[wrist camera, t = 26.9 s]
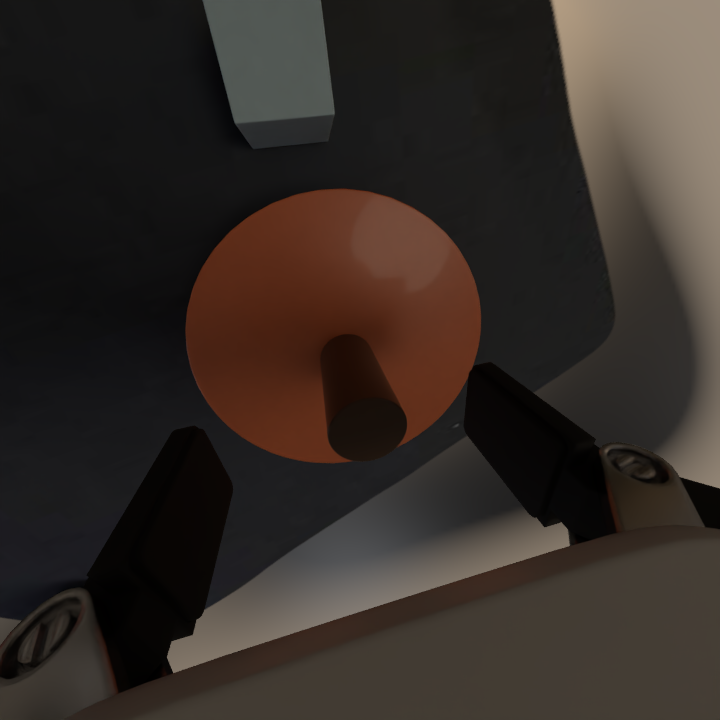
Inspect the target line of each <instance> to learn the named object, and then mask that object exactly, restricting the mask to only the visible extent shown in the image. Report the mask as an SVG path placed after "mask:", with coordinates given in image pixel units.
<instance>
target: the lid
mask: <svg viewBox="0 0 720 720" xmlns="http://www.w3.org/2000/svg"><path fill="white" fill-rule="evenodd" d="M480 329H481V312H480V302H479V296H478V292H477V288H476V284H475V281H474V278H473V276H472V273H471V271H470V268H469V266H468V264H467V262H466V261H465V259H464V257H463V255H462V254H461V252H460V250H459V249H458V247H457V246H456V245H455V244H454V242H453V241H452V240H451V239H450V237H449V236H448V235H447V234H446V233H445V232H444V231H443V230H442V229H441V228H440V227H439V226H438V225H437V224H435V223H434V222H433V221H432V220H431V219H430V218H428V217H427V216H425V215H424V214H422V213H421V212H419V211H417V210H416V209H414V208H413V207H411V206H409V205H407V204H404V203H402V202H400V201H398V200H396V199H393V198H391V197H387V196H384V195H380V194H376V193H373V192H369V191H361V190H352V189H324V190H316V191H311V192H306V193H301V194H296V195H293V196H290V197H287V198H285V199H282V200H279V201H277V202H274V203H271V204H270V205H268V206H266V207H264V208H262V209H261V210H259V211H257V212H255V213H253V214H252V215H250V216H249V217H247V218H246V219H245V220H244V221H242V222H241V223H240V224H239V225H237V226H236V227H235V228H233V229H232V230H231V231H230V232H229V233H228V234H227V235H226V236H225V237H224V239H223V240H222V241H221V242H220V243H219V244H218V245H217V246H216V247H215V248H214V250H213V251H212V253H211V254H210V256H209V258H208V259H207V261H206V262H205V264H204V265H203V267H202V268H201V271H200V273H199V275H198V277H197V280H196V282H195V284H194V287H193V289H192V293H191V297H190V301H189V305H188V308H187V318H186V329H185V330H186V345H187V353H188V357H189V362H190V366H191V370H192V372H193V375H194V377H195V380H196V382H197V385H198V387H199V389H200V390H201V392H202V394H203V396H204V397H205V399H206V401H207V402H208V404H209V405H210V406H211V408H212V409H213V410H214V411H215V413H216V414H217V415H218V416H219V417H220V418H221V419H222V420H223V421H224V422H225V423H226V424H227V425H228V426H229V427H230V428H231V429H232V430H234V431H235V432H236V433H237V434H239V435H240V436H241V437H243V438H244V439H246V440H248V441H249V442H251V443H253V444H254V445H256V446H258V447H260V448H262V449H264V450H267V451H269V452H271V453H274V454H277V455H280V456H283V457H286V458H290V459H295V460H300V461H306V462H315V463H339V462H349V461H361V462H363V461H371V460H375V459H378V458H381V457H383V456H385V455H387V454H389V453H390V452H392V451H393V450H394V449H395V448H396V447H398V446H400V445H402V444H404V443H406V442H408V441H409V440H411V439H412V438H414V437H416V436H417V435H419V434H420V433H421V432H423V431H424V430H425V429H427V428H428V427H429V426H430V425H432V424H433V423H434V422H435V421H436V420H437V419H438V418H439V417H440V416H441V415H442V414H443V413H444V412H445V411H446V410H447V408H448V407H449V406H450V405H451V404H452V402H453V401H454V399H455V398H456V397H457V395H458V394H459V392H460V391H461V389H462V387H463V385H464V384H465V382H466V380H467V378H468V376H469V372H470V371H471V369H472V366H473V364H474V360H475V357H476V354H477V350H478V345H479V339H480Z"/></svg>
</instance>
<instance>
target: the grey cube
mask: <svg viewBox="0 0 720 720" xmlns="http://www.w3.org/2000/svg"><path fill="white" fill-rule="evenodd" d="M203 4H204V8H205V12H206V15H207V19H208V23H209V27H210V31H211V35H212V39H213V42H214V46H215V50H216V54H217V58H218V62H219V65H220V69H221V73H222V77H223V81H224V85H225V89H226V92H227V96H228V100H229V104H230V108H231V112H232V115H233V119H234V123H235V124H236V126H237V127H238V128H239V130H240V131H241V133H242V134H243V136H244V137H245V138H246V140H247V141H248V143H249V144H250V145H251V147H252V148H253V149H259V148H269V147H278V146H288V145H298V144H307V143H317V142H327V141H328V139H329V135H330V131H331V127H332V123H333V118H334V114H335V111H334V103H333V95H332V87H331V79H330V71H329V63H328V54H327V46H326V38H325V30H324V22H323V14H322V6H321V0H203Z"/></svg>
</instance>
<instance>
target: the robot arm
mask: <svg viewBox="0 0 720 720" xmlns="http://www.w3.org/2000/svg"><path fill="white" fill-rule="evenodd" d="M464 429H465V432H466V434H467V436H468V437H469V438H470V439H471V441H472V442H473V443H474V444H475V446H476V447H477V448H478V450H479V451H480V452H481V453H482V455H483V456H484V457H485V459H486V460H487V461H488V462H489V463H490V465H491V466H492V467H493V469H494V470H495V471H496V472H497V474H498V475H499V476H500V478H501V479H502V480H503V481H504V483H505V484H506V485H507V487H508V488H509V489H510V490H511V492H512V493H513V494H514V495H515V497H516V498H517V499H518V501H519V502H520V503H521V504H522V506H523V507H524V508H525V509H526V511H527V512H528V513H529V514H530V515H531V516H532V517H534V518H535V517H537V519H538V520H539V521H540V522H541V524H542V525H543V526H544V527H547V526H551V525H554V524H557V523H560V522H562V523H563V524H564V525H565V526H566V528H567V529H568V533H569V543H570V546H569V547H566V548H562V549H558V550H555V551H552V552H548V553H546V554H542V555H539V556H536V557H532V558H530V559H526V560H523V561H520V562H516V563H513V564H510V565H507V566H504V567H501V568H497V569H494V570H491V571H488V572H484V573H481V574H478V575H475V576H472V577H469V578H465V579H462V580H459V581H456V582H453V583H450V584H447V585H443V586H440V587H437V588H434V589H431V590H428V591H424V592H421V593H418V594H415V595H412V596H408V597H405V598H403V599H399V600H396V601H393V602H390V603H387V604H383V605H380V606H377V607H374V608H371V609H368V610H365V611H362V612H358V613H356V614H352V615H349V616H346V617H343V618H340V619H337V620H333V621H330V622H327V623H324V624H321V625H318V626H315V627H312V628H309V629H306V630H302V631H299V632H296V633H293V634H290V635H287V636H284V637H281V638H278V639H275V640H272V641H269V642H265V643H262V644H259V645H256V646H253V647H250V648H247V649H244V650H241V651H238V652H235V653H232V654H228V655H225V656H222V657H219V658H217V659H214V660H211V661H208V662H205V663H202V664H199V665H196V666H193V667H191V668H188V669H185V670H182V671H179V672H176V673H173V671H172V669H171V666H170V664H169V662H168V659H167V655H168V651H169V648H170V644H171V641H174V640H177V639H180V638H184V637H187V636H190V635H193V631H194V628H195V623H196V620H197V619H198V618H200V617H201V616H202V614H203V612H204V609H205V605H206V601H207V597H208V592H209V588H210V584H211V580H212V576H213V572H214V568H215V563H216V559H217V555H218V551H219V547H220V543H221V539H222V535H223V530H224V526H225V522H226V518H227V514H228V510H229V506H230V501H231V497H232V493H233V485H232V482H231V480H230V478H229V476H228V474H227V472H226V470H225V468H224V467H223V465H222V463H221V461H220V459H219V457H218V455H217V453H216V452H215V450H214V448H213V446H212V444H211V442H210V440H209V438H208V436H207V435H206V433H205V431H204V430H203V429H198V428H197V427H196V426H190V427H186V428H181V429H177V430H174V431H173V432H172V433H171V435H170V437H169V438H168V440H167V442H166V443H165V445H164V447H163V448H162V450H161V452H160V453H159V455H158V457H157V458H156V460H155V462H154V463H153V465H152V467H151V468H150V470H149V472H148V473H147V475H146V477H145V478H144V480H143V482H142V483H141V485H140V487H139V489H138V490H137V492H136V494H135V495H134V497H133V499H132V500H131V502H130V504H129V505H128V507H127V509H126V510H125V512H124V514H123V515H122V517H121V519H120V520H119V522H118V524H117V525H116V527H115V529H114V530H113V532H112V534H111V535H110V537H109V539H108V541H107V542H106V544H105V546H104V547H103V549H102V551H101V552H100V554H99V556H98V557H97V559H96V561H95V562H94V564H93V566H92V567H91V569H90V571H89V572H88V574H87V576H88V577H89V578H88V580H87V582H86V583H85V585H84V587H83V588H79V587H78V588H73V589H68V590H66V591H63V592H61V593H59V594H57V595H55V596H53V597H51V598H50V599H48V600H47V601H45V602H44V603H42V604H41V605H39V606H38V607H37V608H36V609H35V610H33V611H32V612H31V613H30V614H29V615H27V616H26V617H25V618H24V619H23V620H22V621H21V622H20V623H19V624H18V625H17V626H16V627H15V628H14V629H13V630H12V631H11V632H10V634H9V635H8V636H7V638H6V639H5V640H4V641H3V643H2V644H1V645H0V720H720V489H719V488H716V487H712V486H709V485H705V484H702V483H698V482H695V481H691V480H688V479H684V478H681V477H679V475H678V474H677V473H676V471H675V470H674V469H673V467H672V466H671V465H670V464H669V463H667V462H666V461H665V460H664V459H663V458H661V457H659V456H658V455H656V454H654V453H653V452H651V451H648V450H646V449H644V448H642V447H638V446H635V445H632V444H627V443H621V442H615V443H614V442H613V443H607V444H605V445H603V446H602V447H601V448H599V447H597V446H596V445H594V442H595V440H596V439H595V438H594V437H592V436H591V435H589V434H588V433H587V432H585V431H584V430H583V429H581V428H580V427H579V426H577V425H576V424H574V423H573V422H572V421H570V420H569V419H568V418H566V417H565V416H564V415H562V414H561V413H560V412H558V411H557V410H556V409H554V408H553V407H551V406H550V405H549V404H547V403H546V402H545V401H543V400H542V399H540V398H539V397H538V396H537V395H535V394H534V393H532V392H531V391H530V390H528V389H527V388H526V387H524V386H523V385H522V384H520V383H519V382H518V381H516V380H515V379H513V378H512V377H511V376H509V375H508V374H507V373H505V372H504V371H503V370H501V369H500V368H499V367H497V366H496V365H494V364H493V363H491V362H488V363H483V364H479V365H475V366H474V367H473V369H472V370H471V371H470V372H469V376H468V387H467V397H466V408H465V418H464Z"/></svg>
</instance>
